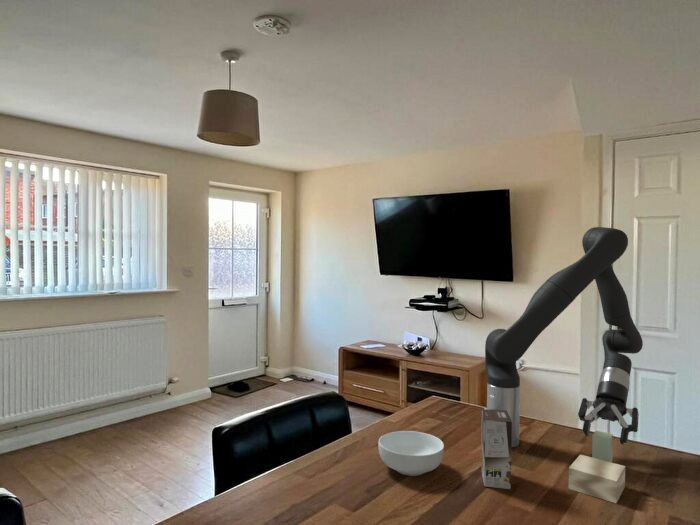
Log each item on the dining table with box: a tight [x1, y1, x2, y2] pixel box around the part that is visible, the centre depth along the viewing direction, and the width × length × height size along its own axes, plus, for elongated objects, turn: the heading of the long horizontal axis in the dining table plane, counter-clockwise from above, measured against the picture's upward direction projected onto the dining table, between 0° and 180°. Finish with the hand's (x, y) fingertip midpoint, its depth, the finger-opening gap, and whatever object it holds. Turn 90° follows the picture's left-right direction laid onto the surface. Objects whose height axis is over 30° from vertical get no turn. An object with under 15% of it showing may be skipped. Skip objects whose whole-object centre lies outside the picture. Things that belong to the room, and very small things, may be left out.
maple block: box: [568, 454, 626, 504], centre depth 111 cm, size 10×10×5 cm
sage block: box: [591, 430, 614, 463], centre depth 123 cm, size 4×4×8 cm
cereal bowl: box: [377, 430, 445, 477], centre depth 120 cm, size 17×17×7 cm
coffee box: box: [480, 408, 513, 490], centre depth 114 cm, size 9×6×16 cm
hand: (603, 438), depth 124 cm, fingers open, 8 cm apart
